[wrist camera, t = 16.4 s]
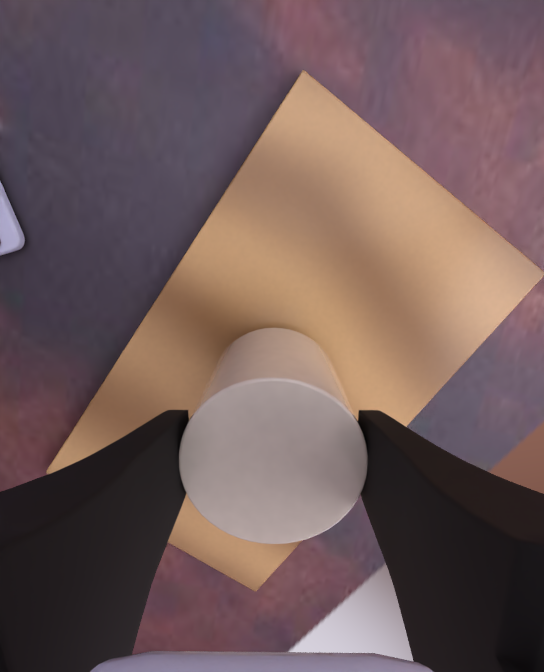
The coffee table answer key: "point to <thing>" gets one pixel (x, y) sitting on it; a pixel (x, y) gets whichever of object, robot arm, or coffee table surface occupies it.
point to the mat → (314, 291)
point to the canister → (273, 441)
